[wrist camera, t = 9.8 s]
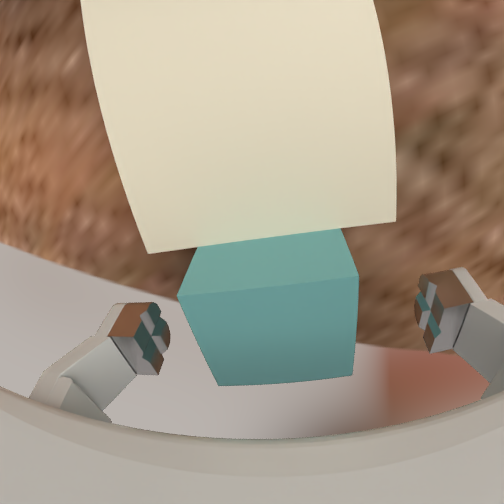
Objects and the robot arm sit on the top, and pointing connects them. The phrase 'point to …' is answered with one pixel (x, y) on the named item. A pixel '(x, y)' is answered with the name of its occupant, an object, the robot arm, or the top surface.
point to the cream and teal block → (252, 165)
